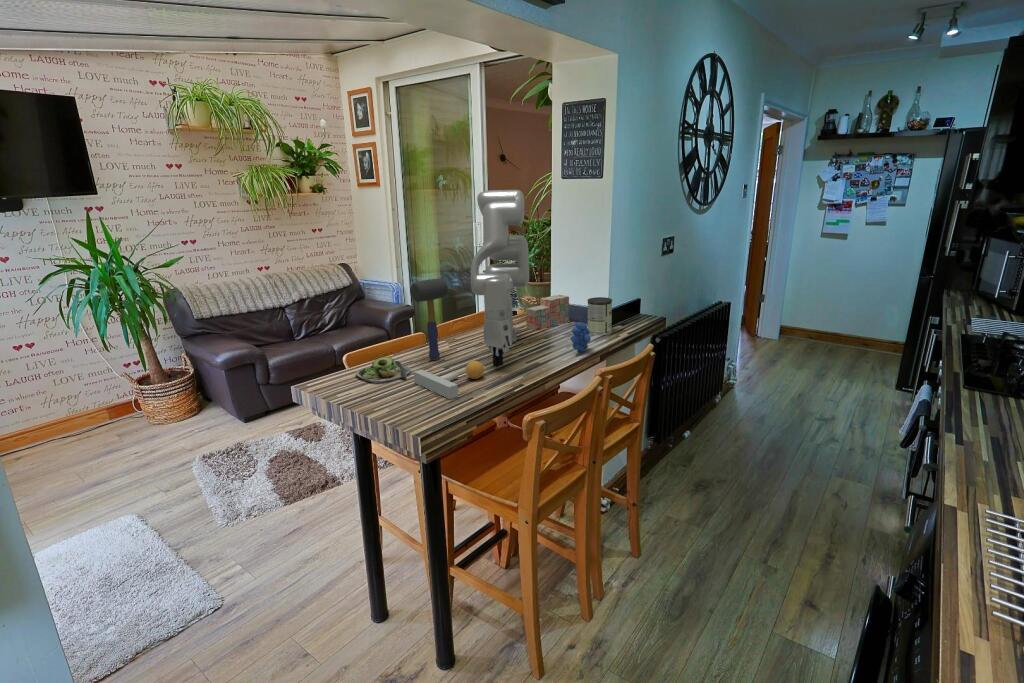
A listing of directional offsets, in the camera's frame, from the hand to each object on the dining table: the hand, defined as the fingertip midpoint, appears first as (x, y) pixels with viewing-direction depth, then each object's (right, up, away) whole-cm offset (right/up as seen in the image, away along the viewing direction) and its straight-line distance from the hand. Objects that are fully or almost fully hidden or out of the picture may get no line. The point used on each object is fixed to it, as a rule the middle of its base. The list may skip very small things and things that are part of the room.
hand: (498, 365), depth 182 cm
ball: (-7, -1, -8) cm, 11 cm away
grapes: (+31, +4, +15) cm, 35 cm away
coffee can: (+42, +12, +43) cm, 61 cm away
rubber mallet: (-24, +1, +14) cm, 28 cm away
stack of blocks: (+21, +15, +57) cm, 62 cm away
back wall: (-19, -7, -16) cm, 26 cm away
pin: (-14, -3, -7) cm, 16 cm away
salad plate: (-40, -4, 0) cm, 40 cm away
